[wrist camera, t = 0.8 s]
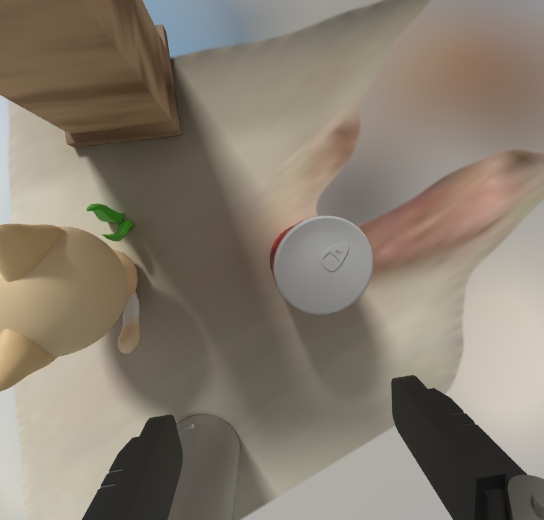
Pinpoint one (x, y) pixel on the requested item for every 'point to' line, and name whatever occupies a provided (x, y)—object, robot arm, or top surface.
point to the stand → (89, 68)
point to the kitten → (62, 293)
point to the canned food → (322, 264)
